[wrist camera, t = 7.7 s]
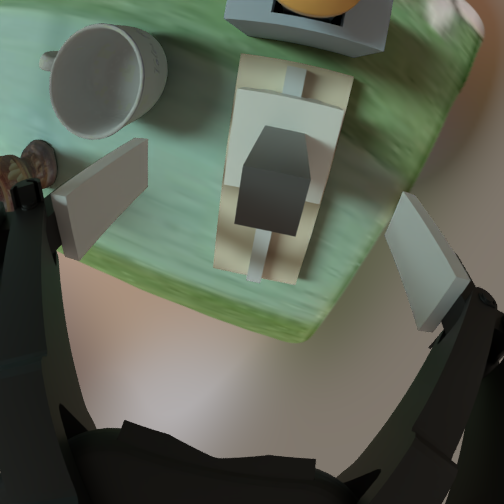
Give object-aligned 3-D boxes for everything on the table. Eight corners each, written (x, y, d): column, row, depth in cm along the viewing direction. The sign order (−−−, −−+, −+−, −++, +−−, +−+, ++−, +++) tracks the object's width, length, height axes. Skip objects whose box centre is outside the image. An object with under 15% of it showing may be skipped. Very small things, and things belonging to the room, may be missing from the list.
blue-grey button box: (258, -17, 18) (238, -55, 10) (368, 6, 18) (402, -20, 10) (248, 36, 22) (223, 18, 14) (357, 59, 22) (389, 53, 13)
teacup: (200, 61, 24) (167, 59, 17) (142, 140, 29) (102, 164, 23) (109, 3, 20) (62, -4, 13) (65, 80, 25) (18, 92, 19)
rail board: (244, 54, 23) (237, 52, 20) (349, 76, 23) (357, 77, 20) (216, 258, 37) (210, 275, 34) (295, 274, 37) (294, 293, 34)
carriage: (246, 86, 23) (193, 102, 11) (336, 104, 23) (380, 141, 11) (233, 167, 27) (183, 254, 16) (316, 184, 27) (329, 285, 16)
